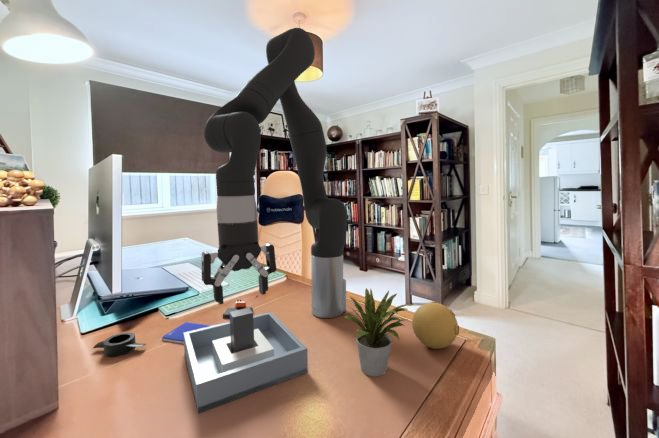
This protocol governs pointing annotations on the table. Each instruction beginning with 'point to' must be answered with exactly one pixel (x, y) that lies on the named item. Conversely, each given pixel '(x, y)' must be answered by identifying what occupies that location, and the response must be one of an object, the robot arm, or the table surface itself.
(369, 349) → the house plant
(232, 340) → the plug
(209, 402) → the walled box
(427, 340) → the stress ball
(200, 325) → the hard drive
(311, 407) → the table surface
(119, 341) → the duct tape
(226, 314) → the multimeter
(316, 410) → the table surface
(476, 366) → the table surface
